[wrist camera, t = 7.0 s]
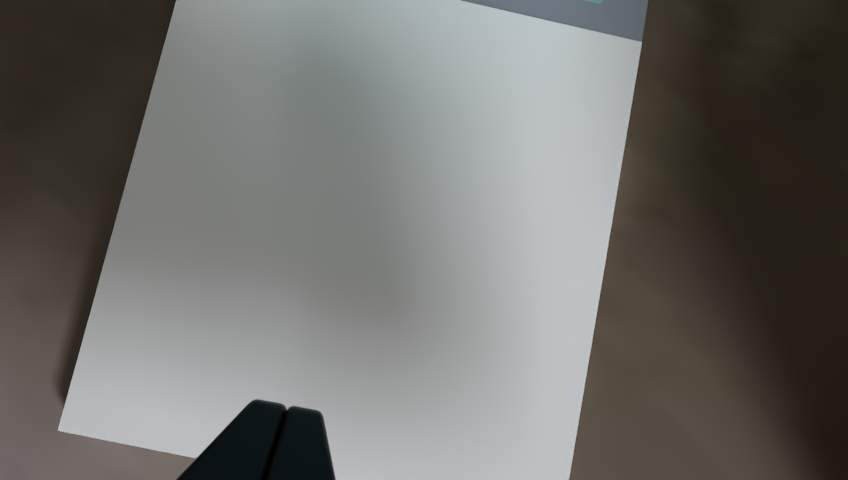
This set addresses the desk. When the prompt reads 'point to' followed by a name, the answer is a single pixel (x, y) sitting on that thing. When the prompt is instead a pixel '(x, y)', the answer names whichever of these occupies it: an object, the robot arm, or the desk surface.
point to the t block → (595, 1)
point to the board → (367, 231)
